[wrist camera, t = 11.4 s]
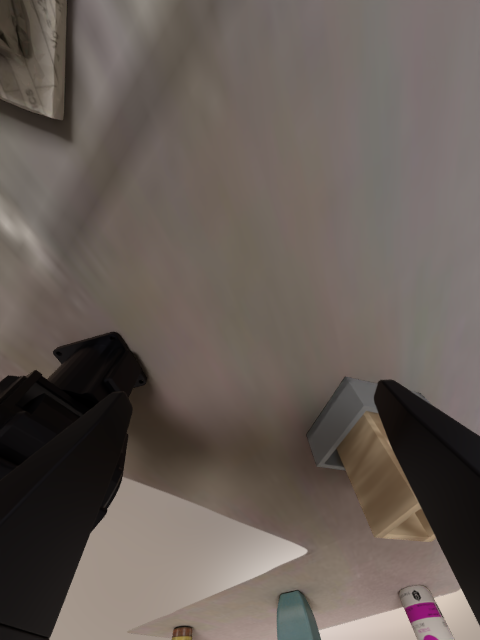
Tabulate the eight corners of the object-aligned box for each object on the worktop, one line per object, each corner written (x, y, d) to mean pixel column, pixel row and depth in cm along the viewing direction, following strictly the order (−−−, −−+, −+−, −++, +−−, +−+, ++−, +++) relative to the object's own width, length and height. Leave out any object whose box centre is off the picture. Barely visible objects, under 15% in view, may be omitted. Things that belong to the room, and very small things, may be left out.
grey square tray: (306, 434, 30) (316, 466, 26) (345, 376, 26) (363, 405, 22) (373, 445, 32) (391, 476, 28) (420, 393, 27) (449, 422, 24)
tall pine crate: (329, 432, 29) (374, 537, 20) (354, 399, 26) (418, 502, 17) (370, 439, 30) (430, 541, 21) (398, 408, 27) (480, 509, 18)
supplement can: (391, 591, 65) (433, 692, 52) (418, 582, 62) (470, 687, 49) (406, 595, 68) (449, 693, 54) (432, 587, 65) (485, 687, 52)
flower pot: (303, 585, 59) (314, 646, 51) (312, 594, 63) (325, 652, 55) (271, 592, 60) (277, 652, 52) (282, 601, 64) (290, 657, 56)
